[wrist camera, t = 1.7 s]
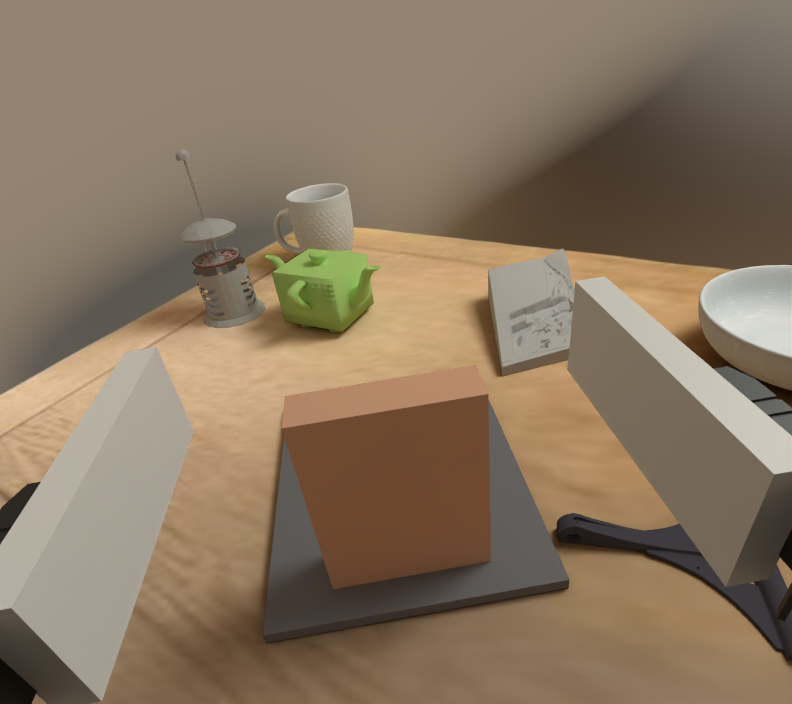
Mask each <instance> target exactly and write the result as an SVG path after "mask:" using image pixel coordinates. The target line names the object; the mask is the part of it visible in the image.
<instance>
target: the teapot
mask: <svg viewBox="0 0 792 704" xmlns="http://www.w3.org/2000/svg"><path fill="white" fill-rule="evenodd" d="M265 258H267V259H268V260H270V261H271V262H272V263H273V264H274V266H275V267H276V269H277V270H275V271H273V272H272V276H273V279H274V283H275V286H276V290H277V294H278V297H279V301H280V305H281V308H282V312H283V316H284V319H285V322H291V323H296V324H301V326H302V327H304V328H308V327H311V326H313V327H318V328H324V329H329V332H331V333H337V332H340V331H341V332H343V331H344V330H345V329H346V328H347V327H349V326H350V325H351V324H352V323H353V322H354V321H355V320H356V319H357V318H358V317H359V316H360V315H361V314H363V313H364V312H365V311H366V310H367V309H368V308H369V307H370V306H371V305H372V304H373V303H374V301H373V295H372V289H371V282H370V278H371V275H372V273H373V272H374V271H376V270H378V269H380V268H381V267H380V266H368V263H367V257H366V254H360V253H352V252H351V251H348V250H344V251H329V250H318V249H307V250H306V251H304V252H303V253H301V254H300V255H298V256H296V257H295V258H293V259H292V260H290V261H289V262H287V263H286V264H285V263H284V262H283V261H282V260H281V259H280V258H279V257H278V256H275V255H265Z"/></svg>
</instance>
